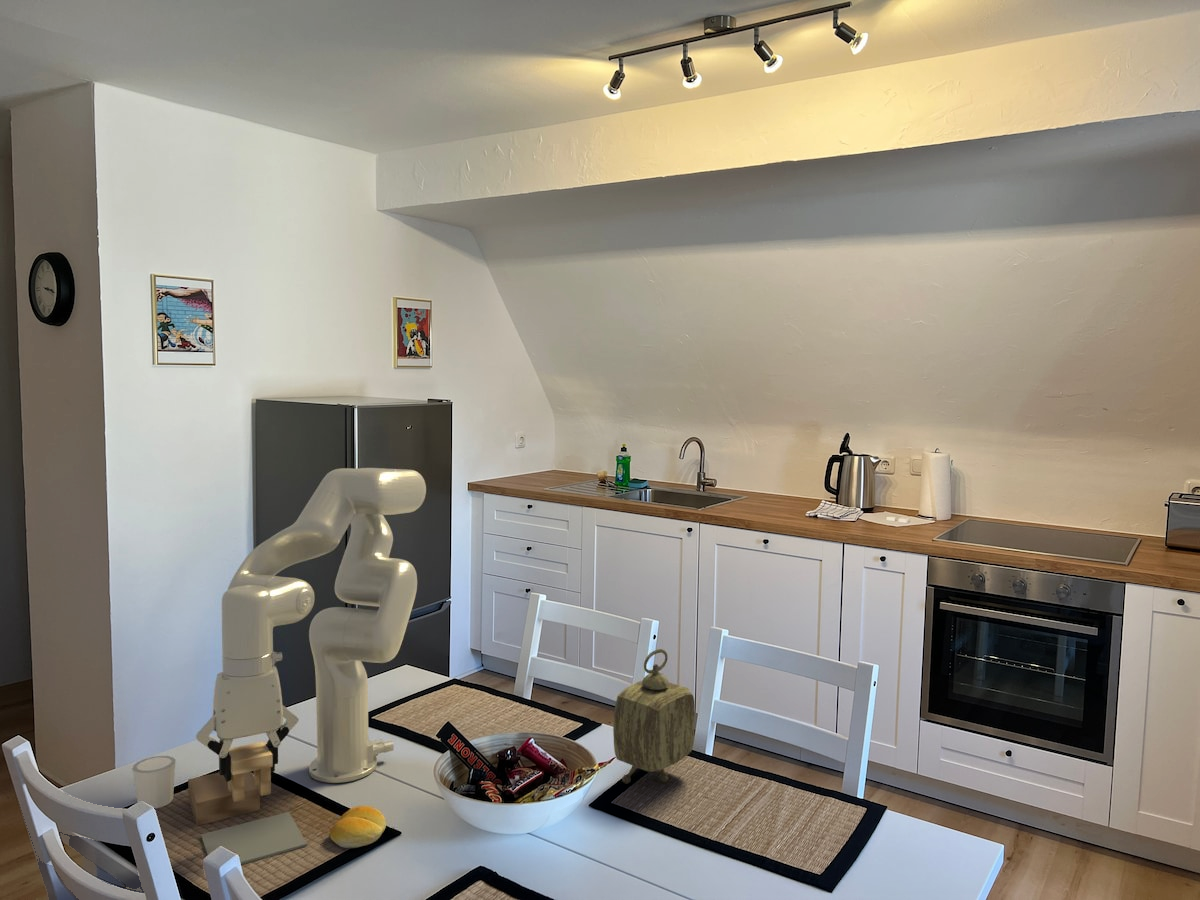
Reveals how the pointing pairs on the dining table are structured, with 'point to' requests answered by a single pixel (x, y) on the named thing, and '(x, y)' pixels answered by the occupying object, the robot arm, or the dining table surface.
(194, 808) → the step
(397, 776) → the dining table surface
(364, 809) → the bread roll
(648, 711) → the tabletop clock
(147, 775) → the cream cup
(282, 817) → the mat
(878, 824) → the dining table surface
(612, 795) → the dining table surface
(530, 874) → the dining table surface
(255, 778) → the stool
